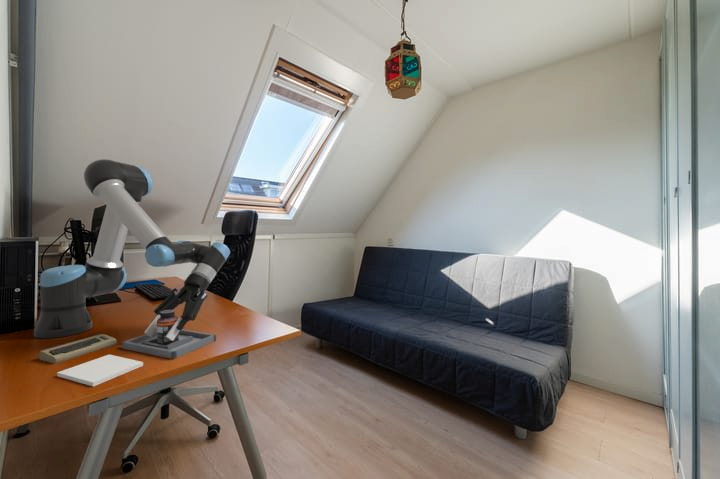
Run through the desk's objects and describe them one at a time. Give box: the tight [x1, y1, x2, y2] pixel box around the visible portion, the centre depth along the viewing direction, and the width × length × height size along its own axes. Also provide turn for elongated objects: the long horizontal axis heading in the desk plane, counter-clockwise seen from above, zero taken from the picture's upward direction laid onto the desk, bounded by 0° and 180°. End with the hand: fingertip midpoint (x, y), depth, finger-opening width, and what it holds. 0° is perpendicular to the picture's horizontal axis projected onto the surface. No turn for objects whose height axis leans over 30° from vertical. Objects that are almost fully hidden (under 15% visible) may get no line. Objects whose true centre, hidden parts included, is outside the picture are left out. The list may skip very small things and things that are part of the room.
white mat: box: [56, 354, 144, 387], centre depth 81 cm, size 14×12×1 cm
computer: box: [38, 333, 118, 365], centre depth 93 cm, size 16×8×3 cm, turn 160°
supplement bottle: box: [156, 309, 179, 345], centre depth 99 cm, size 6×6×11 cm
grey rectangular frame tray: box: [121, 328, 217, 360], centre depth 100 cm, size 22×16×2 cm
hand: (158, 336), depth 96 cm, fingers open, 9 cm apart
